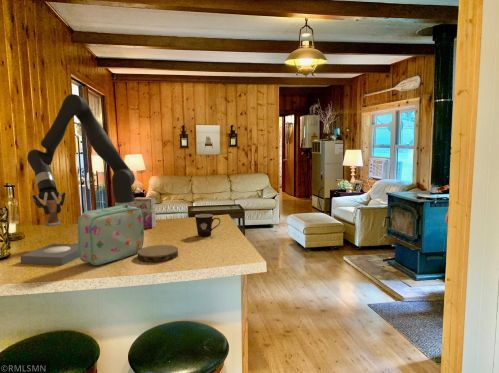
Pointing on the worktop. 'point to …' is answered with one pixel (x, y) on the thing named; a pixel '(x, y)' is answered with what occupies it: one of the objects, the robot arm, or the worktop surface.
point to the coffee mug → (205, 224)
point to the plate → (52, 254)
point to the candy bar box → (147, 210)
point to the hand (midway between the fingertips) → (53, 212)
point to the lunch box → (110, 234)
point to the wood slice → (157, 253)
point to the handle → (52, 213)
